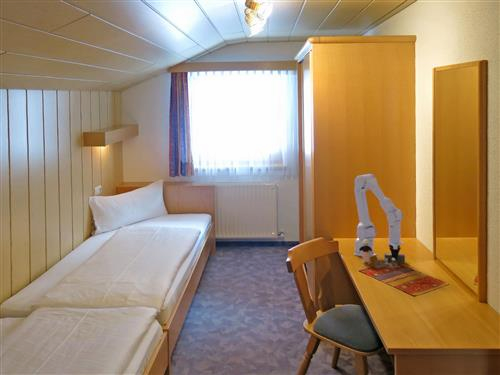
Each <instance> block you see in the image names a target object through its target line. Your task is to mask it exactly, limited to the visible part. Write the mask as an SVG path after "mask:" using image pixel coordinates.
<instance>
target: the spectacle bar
mask: <svg viewBox="0 0 500 375" xmlns="http://www.w3.org/2000/svg"><path fill="white" fill-rule="evenodd" d="M383 257H384V259H383V261H384V262H383V263H385V258H388V263H392V254H391V253H384V255H383ZM405 258H406V256H405V254H403V253H398V258H397V260H395V263H397V264H405V263H406V262H405V260H406V259H405Z"/></svg>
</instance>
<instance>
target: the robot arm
mask: <svg viewBox="0 0 500 375" xmlns="http://www.w3.org/2000/svg"><path fill="white" fill-rule="evenodd" d="M353 181H354V190H353V191H354V197H355V203H356V208H357V214H358V220H359V223H358V225H357V226H356V229H357V230H356V237H357V238H356V239H355V243H354V254H353V255H354V256H357V257H361V258H362V252H363V250H362V251H360V253H358V251H359V248H360V247H362V246H364V244H363V243H362V242H363V240H364V239H368V240H369V244H368V245H367V246H369V247H371V249H372V251H373V254H372V253H371V251H370V250H369V252H370V258H372V257H375V256H377V254H376V253H374V239H375V237H376V235H377V230H376V228H375V225H374V223H373V222H372V221H371V219H370V218H371V217H370V214H369V213H370V212H369V207H368V201H367V196H366V192H367V190H369V191H371V192H372V193H373V195H375V196H376V198H377V199H378V200H379V206H380V207H381V208H382V210H383V211H384V213H385V214H386V220H387V222H388V248H389V251H390V254H392V258H395V260H397V258H398V254H400V253H399V252H400V250H401V245H402V244H404V242H403V241H402V240H401V238H402V237H401V233H402V232H401V230H402V229H401V223H402V220H403V218H404V213H403V211H402V210H401V209H399V208H397V207H396V206H395V204H394V203H393V200H392V199H391V198H389V197H386V196H385V194H384V192H383V191H382V189H381V187H380V186H379V184H378V179H377V178H376V177H375V175H374V174H372V173H367V174H362V175H361V174H360V175H357V176H356V177H355V178H354V180H353Z"/></svg>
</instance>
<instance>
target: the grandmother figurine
mask: <svg viewBox="0 0 500 375" xmlns="http://www.w3.org/2000/svg"><path fill="white" fill-rule="evenodd" d="M362 243H363V244H364V246H362V247H360V248H359V251H358V253H360V251H362V250H363V252H362V257H361V258H362V264H363V265H366V264H368V265H370V264H372V261H371V257H370V252H369V250H370V251H371V253H372V254H373V253H374V250H373V251H372V249H371V247H369V246H367V245H368V244H369V240H368V239H364V240H363V242H362Z"/></svg>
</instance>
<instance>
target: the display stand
mask: <svg viewBox="0 0 500 375" xmlns="http://www.w3.org/2000/svg"><path fill="white" fill-rule="evenodd" d="M398 264H399V263H395V258H392V263H388V258H385V262H382V257H377V262H374V268H375V269H399V266H398Z"/></svg>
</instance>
